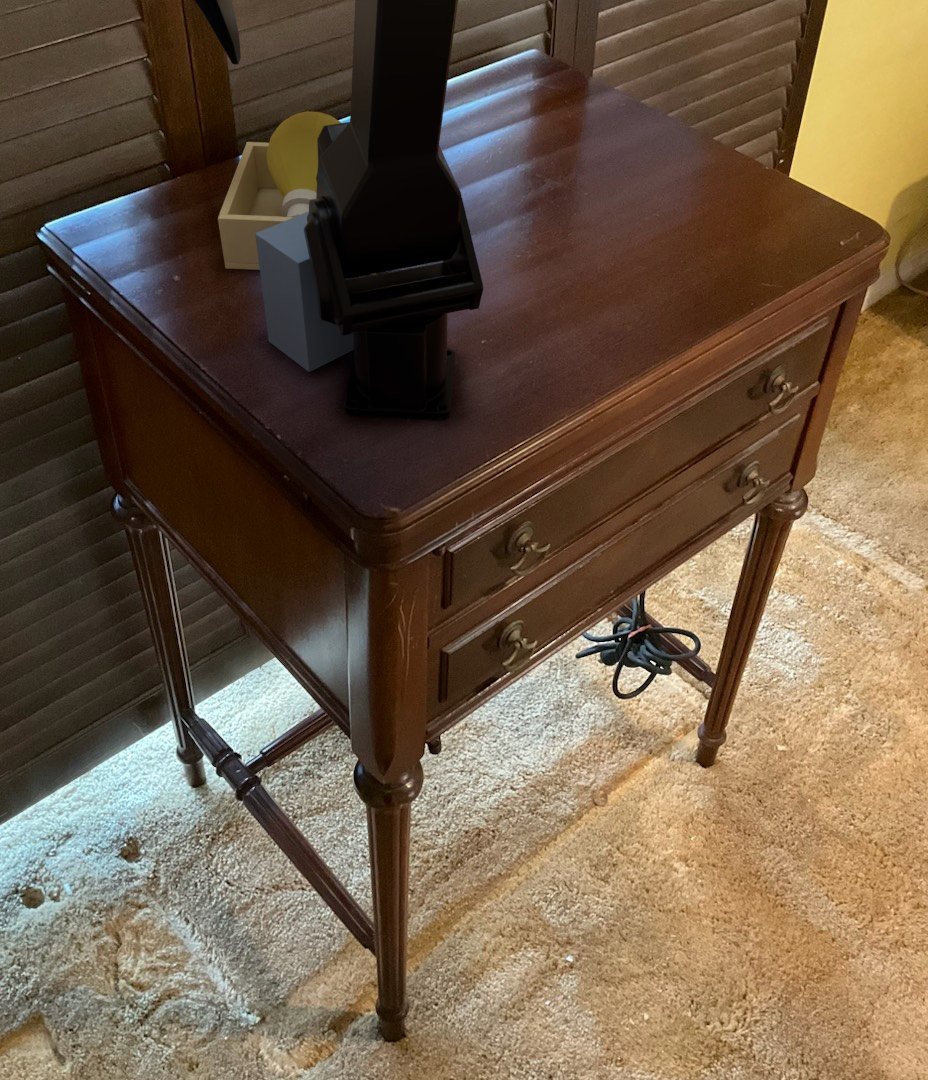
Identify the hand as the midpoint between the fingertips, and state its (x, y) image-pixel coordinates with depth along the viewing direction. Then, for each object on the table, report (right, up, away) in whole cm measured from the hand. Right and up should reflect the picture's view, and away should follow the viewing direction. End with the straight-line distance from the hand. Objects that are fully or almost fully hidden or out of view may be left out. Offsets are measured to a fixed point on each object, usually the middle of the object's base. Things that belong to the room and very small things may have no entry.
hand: (305, 64), depth 74 cm
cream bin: (-1, -9, +9) cm, 12 cm away
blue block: (+1, -19, -1) cm, 19 cm away
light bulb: (-1, -10, +3) cm, 11 cm away
